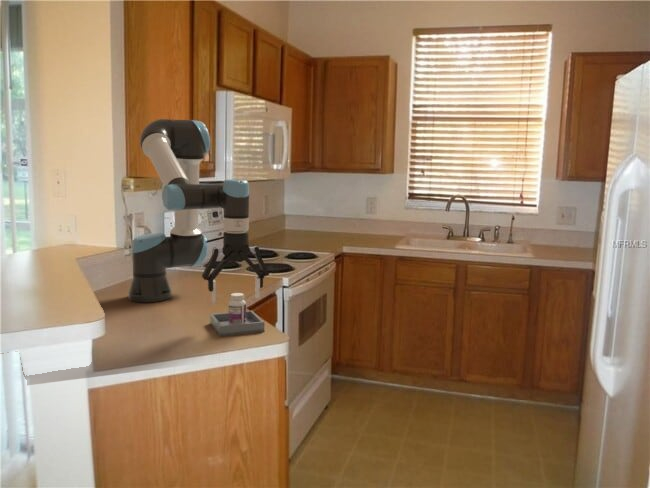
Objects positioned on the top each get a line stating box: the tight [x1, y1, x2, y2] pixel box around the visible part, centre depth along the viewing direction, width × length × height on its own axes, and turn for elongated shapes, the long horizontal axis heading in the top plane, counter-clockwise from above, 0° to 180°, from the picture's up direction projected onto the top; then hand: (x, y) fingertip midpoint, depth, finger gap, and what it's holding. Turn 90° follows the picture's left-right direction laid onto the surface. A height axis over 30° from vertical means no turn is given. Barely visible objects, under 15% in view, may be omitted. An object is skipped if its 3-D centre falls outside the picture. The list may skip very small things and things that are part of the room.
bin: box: [209, 310, 265, 337], centre depth 173 cm, size 14×14×3 cm
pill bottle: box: [228, 292, 247, 325], centre depth 172 cm, size 5×5×10 cm
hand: (236, 299), depth 172 cm, fingers open, 13 cm apart
